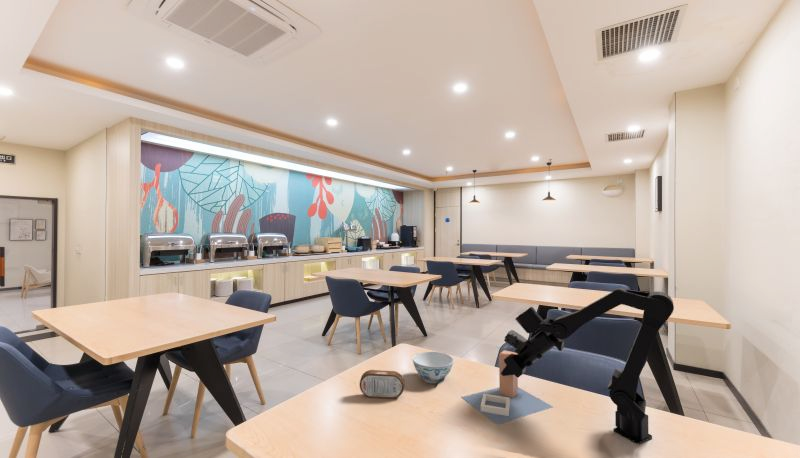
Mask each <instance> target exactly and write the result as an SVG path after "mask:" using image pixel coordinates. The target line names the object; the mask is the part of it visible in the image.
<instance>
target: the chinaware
mask: <svg viewBox="0 0 800 458" xmlns="http://www.w3.org/2000/svg"><path fill="white" fill-rule="evenodd" d="M412 362H413V363H412V364H413V366H414V369H415V371H416V372H417V373H418V375H419V376H420V377H422V378H423V380H424V382H425V383H429V384H438V383H440V382H441V381H442V380H443V379H444V378H446V377H447V376H448V375H449V373H450V372H451V370H452V367H453V365H454V358H453V357H452V356H451V355H449V354H447V353H446V352H440V351H422V352H419V353H416V354H415V355H414V356H412Z"/></svg>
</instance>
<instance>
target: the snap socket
mask: <svg viewBox="0 0 800 458" xmlns="http://www.w3.org/2000/svg"><path fill="white" fill-rule="evenodd" d="M486 401H492V402H498V403H504V404H506V408H501V407H495V406H489V405H486ZM509 407H510V398H508V397H502V396H496V395H489V394H483V398H482V402H481V411H482V412H488V413H494V414H499V415H505V416H509Z"/></svg>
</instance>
